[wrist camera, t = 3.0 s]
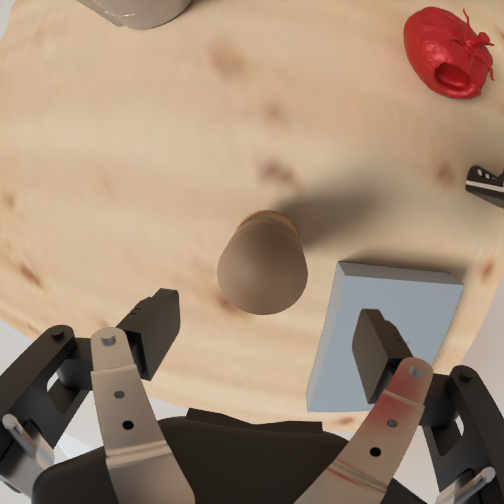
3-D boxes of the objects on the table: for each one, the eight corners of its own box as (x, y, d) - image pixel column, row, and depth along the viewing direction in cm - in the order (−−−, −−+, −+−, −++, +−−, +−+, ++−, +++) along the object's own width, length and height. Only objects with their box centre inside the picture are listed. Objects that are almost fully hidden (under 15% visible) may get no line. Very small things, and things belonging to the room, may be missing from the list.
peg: (236, 258, 27) (215, 310, 18) (240, 202, 25) (218, 226, 16) (293, 264, 27) (301, 319, 17) (300, 208, 25) (314, 235, 15)
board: (305, 392, 32) (307, 411, 28) (337, 261, 26) (345, 275, 23) (400, 390, 31) (407, 407, 28) (448, 272, 25) (464, 285, 22)
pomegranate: (378, 22, 18) (411, -21, 9) (447, 26, 16) (489, -2, 7) (413, 106, 21) (466, 89, 12) (478, 102, 19) (531, 93, 10)
